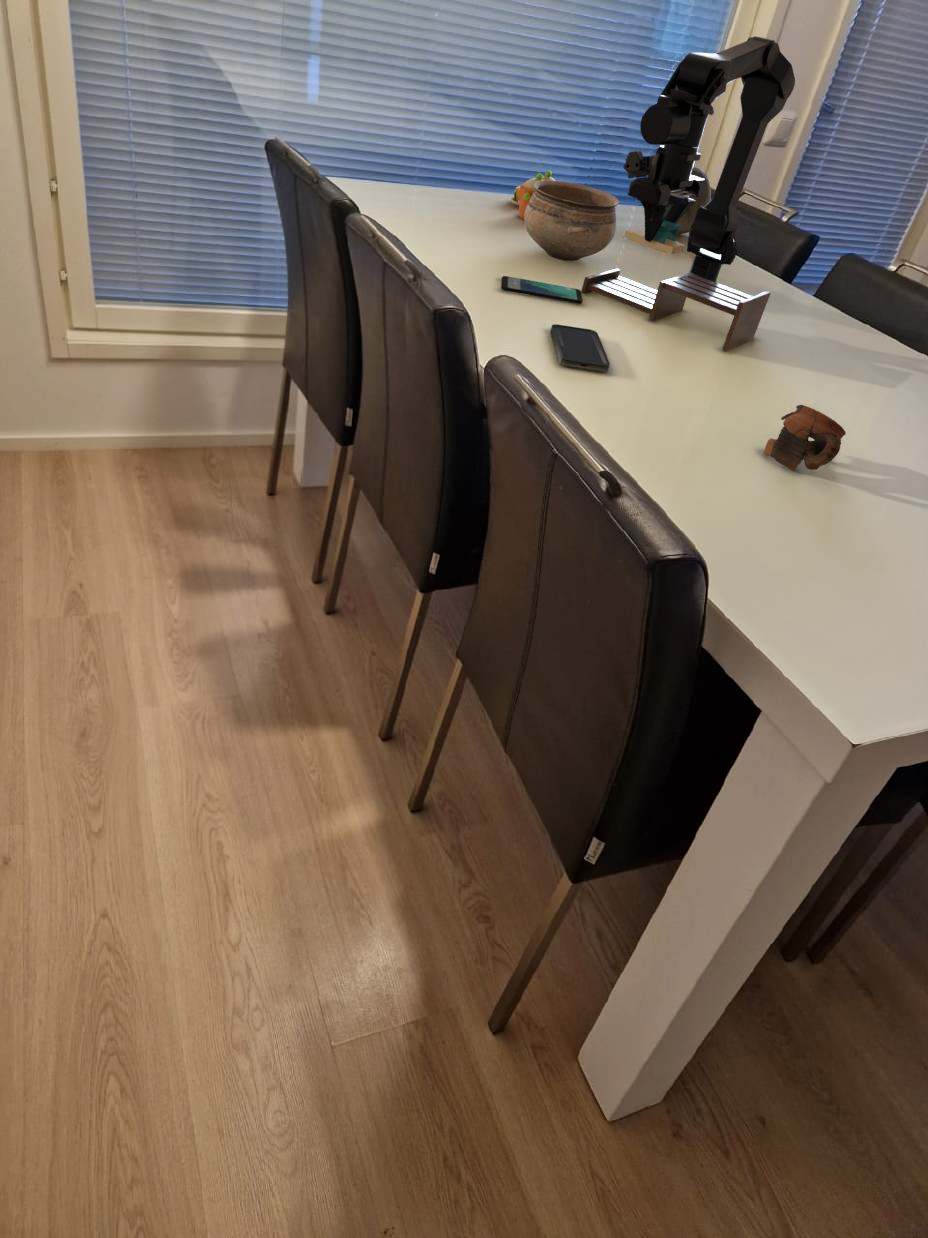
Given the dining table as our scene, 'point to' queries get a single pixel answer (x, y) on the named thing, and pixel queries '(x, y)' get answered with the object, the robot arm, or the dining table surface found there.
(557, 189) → the cooking pot
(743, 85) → the robot arm
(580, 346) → the phone
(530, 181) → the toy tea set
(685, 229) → the cantaloupe
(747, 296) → the shoe rack
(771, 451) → the pottery mug
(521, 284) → the smartphone
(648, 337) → the dining table surface
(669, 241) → the wall mail holder
